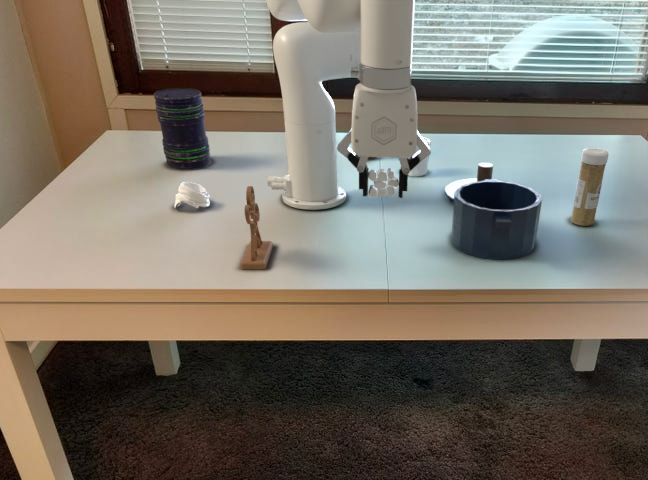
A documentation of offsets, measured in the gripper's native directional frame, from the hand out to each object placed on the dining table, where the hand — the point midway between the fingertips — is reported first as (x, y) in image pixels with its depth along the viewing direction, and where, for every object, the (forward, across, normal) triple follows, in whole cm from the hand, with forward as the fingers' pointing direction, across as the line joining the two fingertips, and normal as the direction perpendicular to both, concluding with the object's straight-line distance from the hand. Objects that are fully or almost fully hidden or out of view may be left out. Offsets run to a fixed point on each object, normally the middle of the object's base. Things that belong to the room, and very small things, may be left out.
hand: (383, 193), depth 106 cm
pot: (+9, +20, +3) cm, 22 cm away
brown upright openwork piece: (+10, -20, -6) cm, 23 cm away
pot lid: (+9, +20, +25) cm, 33 cm away
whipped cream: (+11, -37, +16) cm, 42 cm away
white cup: (+11, +6, +39) cm, 41 cm away
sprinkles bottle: (+9, +38, +13) cm, 41 cm away
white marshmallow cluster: (+1, 0, 0) cm, 1 cm away
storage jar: (+11, -45, +41) cm, 62 cm away
